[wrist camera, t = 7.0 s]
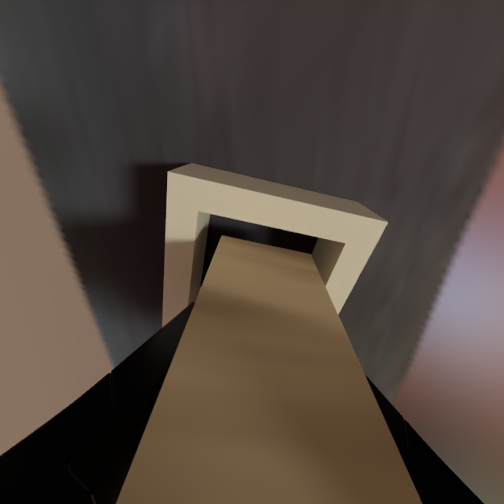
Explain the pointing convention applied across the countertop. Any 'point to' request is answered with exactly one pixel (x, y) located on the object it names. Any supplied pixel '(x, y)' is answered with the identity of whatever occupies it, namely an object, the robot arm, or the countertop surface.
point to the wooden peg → (266, 398)
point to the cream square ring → (264, 213)
